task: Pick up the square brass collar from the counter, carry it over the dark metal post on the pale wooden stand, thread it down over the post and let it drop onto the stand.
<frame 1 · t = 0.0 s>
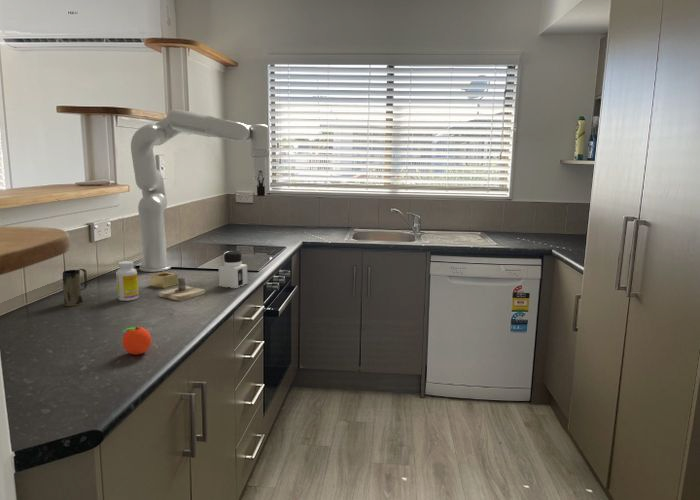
hand: (260, 194, 229), 31 cm above the counter, fingers open, 9 cm apart
collar: (164, 284, 202), on the counter
supplement bottle: (128, 299, 184), on the counter
container: (233, 285, 203), on the counter
post stand: (182, 294, 189), on the counter
clementine: (135, 354, 136), on the counter
mug: (77, 304, 177), on the counter
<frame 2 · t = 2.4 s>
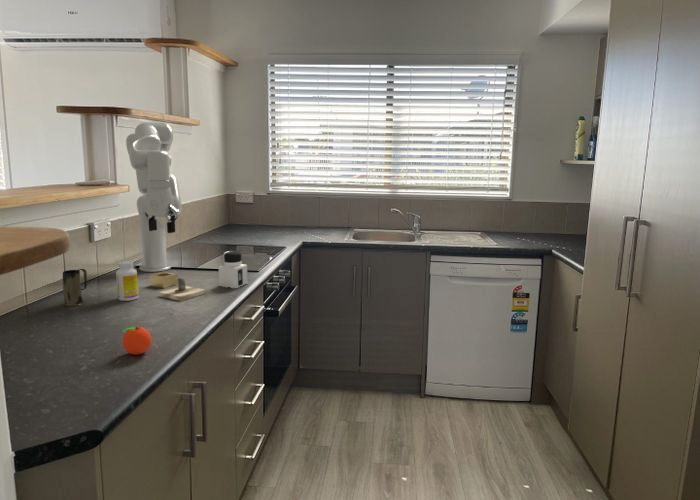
hand: (162, 231, 198), 20 cm above the counter, fingers open, 9 cm apart
nothing on the counter moved.
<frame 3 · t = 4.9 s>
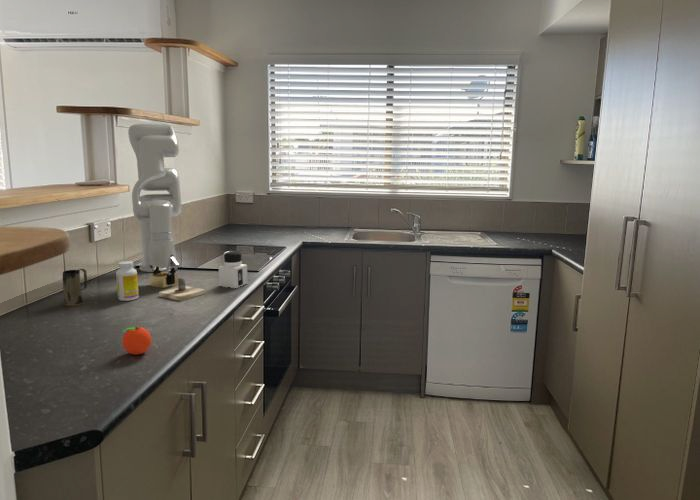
hand: (164, 282, 202), 1 cm above the counter, fingers closed on collar, 6 cm apart
collar: (164, 285, 202), on the counter, touching gripper
everything else where it was.
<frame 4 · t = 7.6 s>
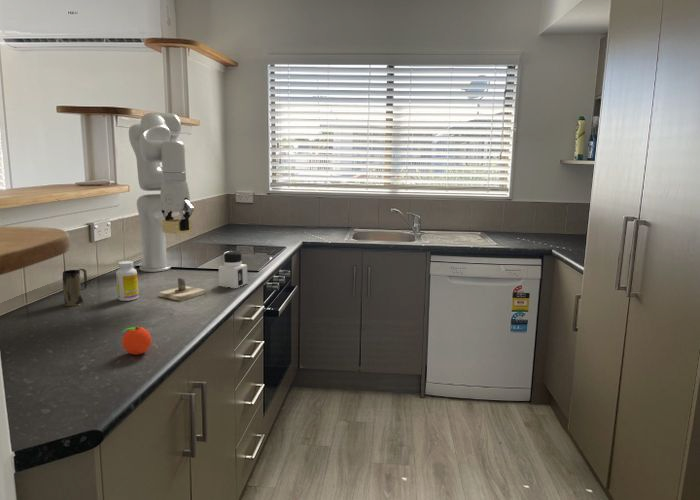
hand: (177, 229, 185), 23 cm above the counter, fingers closed on collar, 6 cm apart
collar: (177, 231, 185), point 22 cm above the counter, touching gripper
everything else where it was.
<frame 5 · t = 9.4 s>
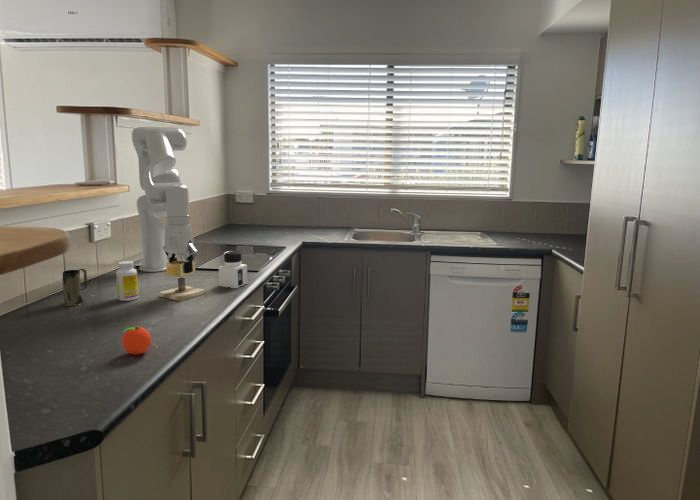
hand: (181, 270, 187), 9 cm above the counter, fingers closed on collar, 6 cm apart
collar: (181, 273, 187), point 8 cm above the counter, touching gripper
everything else where it was.
when the fingers open (4 cm above the counter, at t = 10.8 s): collar drops 1 cm, resting on post stand.
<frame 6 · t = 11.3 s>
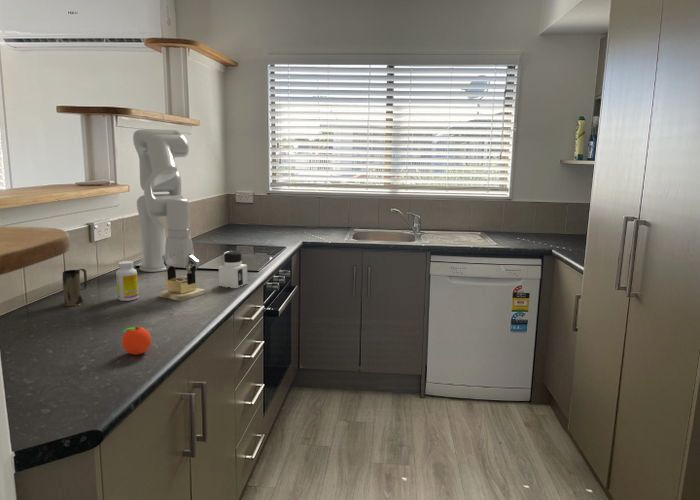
hand: (181, 281, 188), 5 cm above the counter, fingers open, 9 cm apart
collar: (181, 290, 189), point 2 cm above the counter, touching post stand
everything else where it was.
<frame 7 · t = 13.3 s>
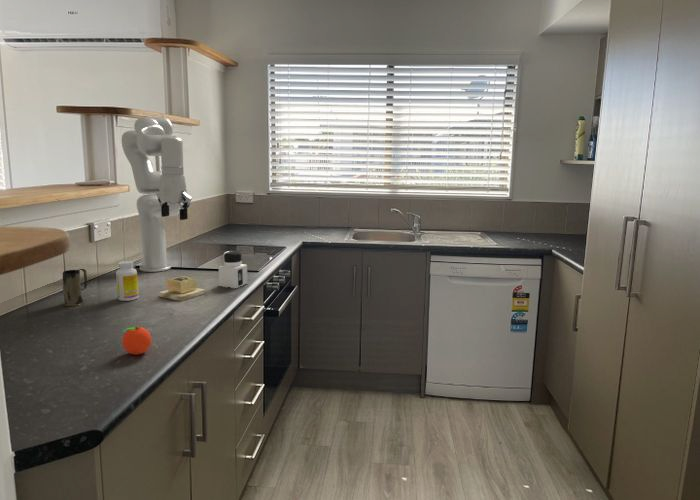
hand: (174, 217, 198), 25 cm above the counter, fingers open, 9 cm apart
nothing on the counter moved.
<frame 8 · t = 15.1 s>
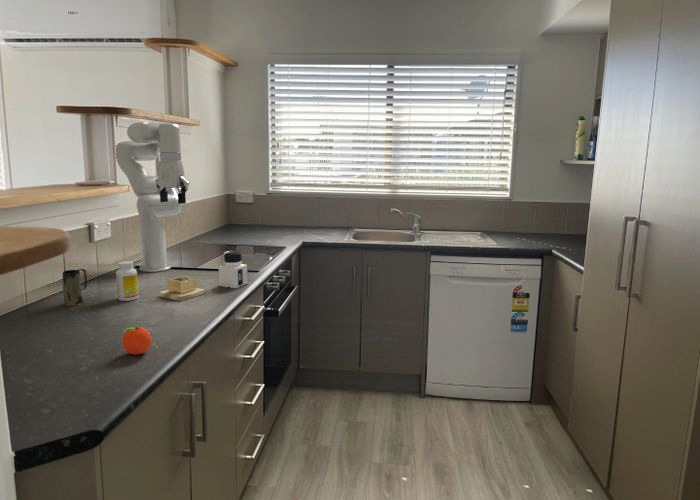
hand: (173, 202, 204), 30 cm above the counter, fingers open, 9 cm apart
nothing on the counter moved.
at the end: collar 0.1 cm from the post stand (horizontally); collar point 1.8 cm above the counter; the gripper is holding nothing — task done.
